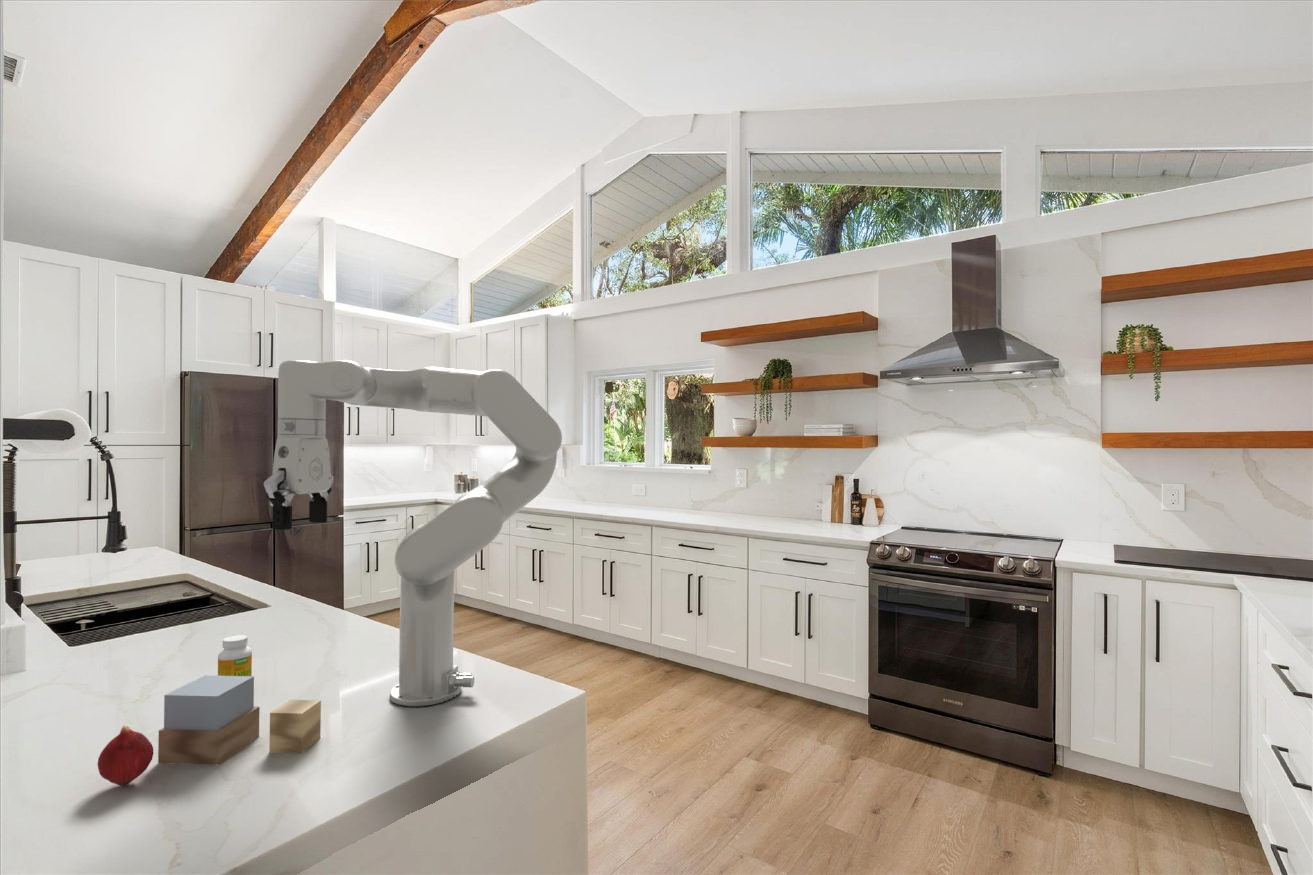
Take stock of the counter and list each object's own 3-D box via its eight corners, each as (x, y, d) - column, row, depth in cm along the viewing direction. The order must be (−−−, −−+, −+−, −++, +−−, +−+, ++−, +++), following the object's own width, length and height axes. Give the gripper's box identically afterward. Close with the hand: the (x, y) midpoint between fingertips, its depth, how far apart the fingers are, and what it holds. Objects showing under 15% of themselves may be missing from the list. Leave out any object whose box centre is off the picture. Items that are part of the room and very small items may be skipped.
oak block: (320, 738, 102) (320, 700, 102) (301, 753, 97) (302, 713, 97) (289, 737, 102) (290, 699, 102) (269, 752, 97) (269, 712, 97)
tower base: (259, 738, 102) (259, 706, 102) (217, 766, 93) (218, 731, 93) (204, 736, 102) (204, 705, 102) (158, 764, 93) (158, 730, 93)
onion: (163, 773, 90) (163, 716, 90) (130, 796, 84) (131, 735, 85) (120, 774, 90) (121, 717, 90) (85, 796, 84) (86, 735, 84)
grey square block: (253, 707, 101) (254, 676, 101) (217, 730, 93) (217, 696, 93) (204, 706, 102) (205, 675, 102) (163, 729, 94) (164, 695, 94)
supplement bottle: (234, 696, 118) (235, 643, 118) (210, 693, 119) (210, 641, 119) (258, 685, 123) (258, 634, 124) (234, 683, 124) (235, 633, 125)
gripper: (288, 428, 106) (287, 532, 105) (349, 431, 123) (348, 520, 123) (246, 428, 106) (245, 531, 106) (313, 431, 124) (312, 519, 123)
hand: (300, 525), depth 114 cm, fingers open, 9 cm apart
